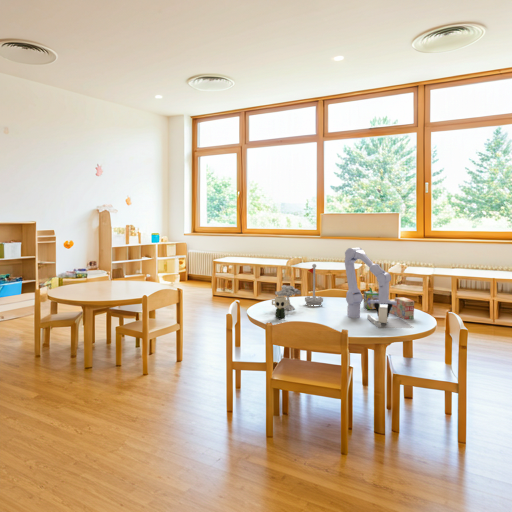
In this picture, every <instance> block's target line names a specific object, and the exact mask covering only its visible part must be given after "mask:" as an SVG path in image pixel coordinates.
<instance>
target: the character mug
mask: <svg viewBox="0 0 512 512" xmlns="http://www.w3.org/2000/svg"><path fill="white" fill-rule="evenodd" d="M289 300H290V299H289ZM289 300H287V296H278V295H276V296H275V297H274V299H272V300H271V305H272V306H274V307H275V308H276V309H275V314H274V315H275V316H274V317H275V318H278V319H279V318H280V319H282V318H283V319H284V318H286V310H285V309H284V308H285V307H286V305H289ZM286 302H288V304H286Z"/></svg>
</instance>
